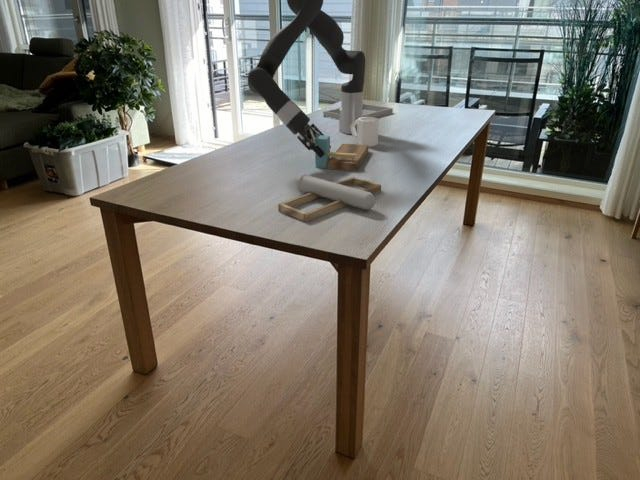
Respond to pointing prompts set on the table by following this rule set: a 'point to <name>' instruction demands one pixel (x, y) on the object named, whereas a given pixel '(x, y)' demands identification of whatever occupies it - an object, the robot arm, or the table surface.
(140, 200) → the table surface
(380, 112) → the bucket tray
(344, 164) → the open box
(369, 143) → the mug
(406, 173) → the table surface
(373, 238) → the table surface
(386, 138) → the table surface
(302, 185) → the tube
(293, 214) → the tube rack
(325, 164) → the teal ice pop
